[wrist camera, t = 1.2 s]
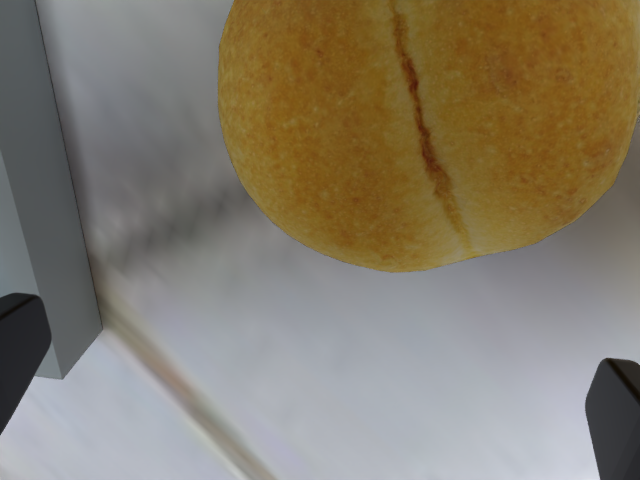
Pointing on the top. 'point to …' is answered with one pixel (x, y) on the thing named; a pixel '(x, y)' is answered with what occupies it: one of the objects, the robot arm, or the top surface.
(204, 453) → the top surface
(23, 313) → the robot arm
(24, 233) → the gray divided tray
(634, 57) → the bread roll
